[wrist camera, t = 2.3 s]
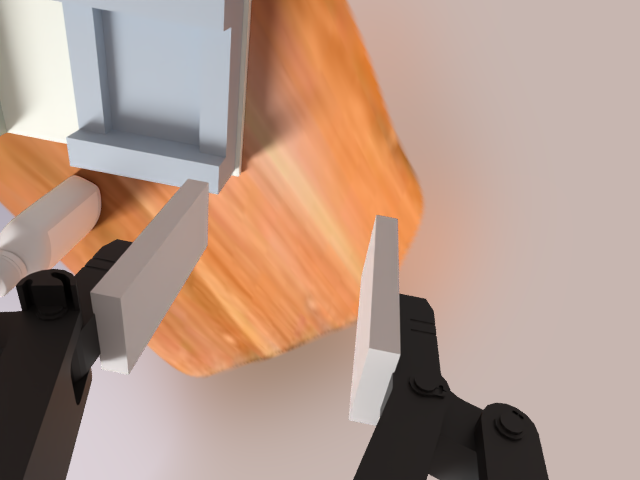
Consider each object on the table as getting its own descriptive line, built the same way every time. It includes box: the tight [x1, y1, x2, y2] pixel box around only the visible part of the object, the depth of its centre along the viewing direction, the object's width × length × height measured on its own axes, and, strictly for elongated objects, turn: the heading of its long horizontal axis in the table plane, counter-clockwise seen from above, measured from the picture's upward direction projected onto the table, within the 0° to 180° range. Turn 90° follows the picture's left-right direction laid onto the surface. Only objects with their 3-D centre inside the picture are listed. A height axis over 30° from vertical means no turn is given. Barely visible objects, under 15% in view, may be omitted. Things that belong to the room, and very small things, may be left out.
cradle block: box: [53, 0, 244, 194], centre depth 30 cm, size 12×10×4 cm
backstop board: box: [0, 0, 252, 176], centre depth 31 cm, size 13×20×4 cm, turn 81°
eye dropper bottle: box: [0, 175, 101, 297], centre depth 34 cm, size 4×6×12 cm
